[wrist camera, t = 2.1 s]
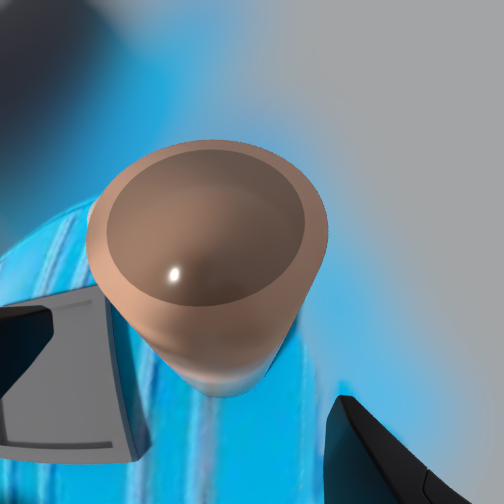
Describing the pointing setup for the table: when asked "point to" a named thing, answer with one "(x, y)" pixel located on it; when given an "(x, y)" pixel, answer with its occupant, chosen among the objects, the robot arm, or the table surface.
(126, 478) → the table surface
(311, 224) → the terracotta cup
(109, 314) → the charcoal tray
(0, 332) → the robot arm
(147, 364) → the table surface
